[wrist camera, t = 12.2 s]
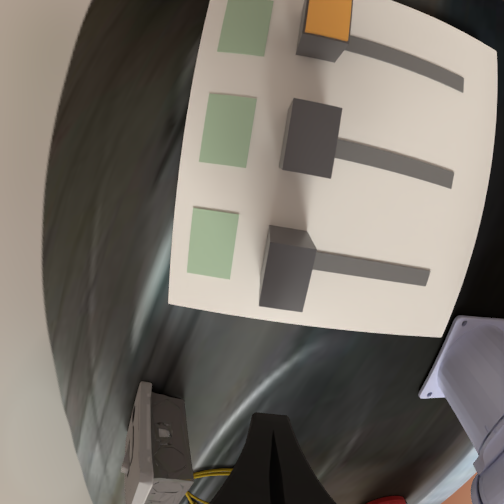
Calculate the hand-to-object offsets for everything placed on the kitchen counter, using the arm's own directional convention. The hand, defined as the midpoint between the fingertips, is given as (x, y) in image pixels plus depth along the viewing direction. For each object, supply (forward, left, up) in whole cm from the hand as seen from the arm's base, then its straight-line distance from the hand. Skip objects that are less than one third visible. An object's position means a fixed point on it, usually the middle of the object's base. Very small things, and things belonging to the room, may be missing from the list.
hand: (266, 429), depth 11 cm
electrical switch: (+7, +12, -10) cm, 17 cm away
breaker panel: (-3, -11, -9) cm, 15 cm away
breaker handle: (0, -17, -7) cm, 18 cm away
